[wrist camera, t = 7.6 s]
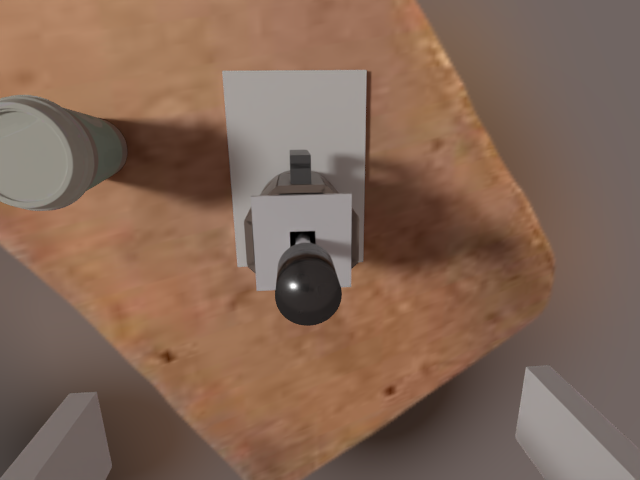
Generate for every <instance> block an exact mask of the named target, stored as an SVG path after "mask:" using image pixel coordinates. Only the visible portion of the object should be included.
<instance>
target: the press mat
mask: <svg viewBox="0 0 640 480" xmlns="http://www.w3.org/2000/svg"><path fill="white" fill-rule="evenodd" d="M222 73H223V86H224V98H225V111H226V124H227V137H228V150H229V163H230V176H231V188H232V201H233V214H234V227H235V240H236V253H237V266H238V267H246V266H248V265H247V259H246V245H245V231H244V220H245V218H246V216H247V214H248V212H249V210H250V208H251V196H255V195H260V194H261V192H262V190H263V189H264V187H265V186H266V185H267V183H268V182H269V181H270V180H271V179H273V178H274V177H275V176H277V175H279V174H281V173H283V172H285V171H289V170H290V150H308V152H309V153H310V154H311V171H313V172H316V173H318V174H320V175H322V176H323V177H325V178H326V179H327V180H328V181H329V182H330V183H331V184H332V185H333V187H334V188H335V189H336V190H337V191H338V192H339V193H351V194H352V208H353V210H354V211H355V212H356V213H357V215H358V216H359V261H358V262H363V252H364V193H365V134H366V75H367V70H284V71H222Z"/></svg>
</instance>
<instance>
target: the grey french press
mask: <svg viewBox="0 0 640 480" xmlns="http://www.w3.org/2000/svg"><path fill="white" fill-rule="evenodd" d="M244 231H245V245H246V259H247V265H248V267H249V268H250V269H251V270H252V271H253V272H254V273H256V286H257V291H264V290H276V279H277V268H278V263H279V260H280V258H281V256H282V254H283V253H284V252H285V251H286V250H287V249H289V248H290V247H292V246H294V245H295V232H297V231H309V236H310V242H311V243H313V244H316V245H319V246H321V247H322V248H324V249H325V250H326V251H327V252H328V253H329V255H330V256H331V258H332V261H333V264H334V267H335V270H336V273H337V277H338V280H339V283H340V286H341V287H351V269H352V268H353V267H354V266H355V265H356V264H357V263H358V261H359V216H358V215H357V213H356V212H355V211H354V210H353V208H352V194H351V193H339V192H338V191H337V190H336V189H335V188H334V187H333V185H332V184H331V183H330V182H329V181H328V180H327V179H326V178H325V177H323V176H322V175H320V174H318V173H316V172H313V171H311V154H310V153H309V152H308V150H290V170H289V171H285V172H283V173H281V174H279V175H277V176H275V177H274V178H273V179H271V180H270V181H269V182H268V183H267V185H266V186H265V187H264V189H263V190H262V192H261V194H260V195H255V196H251V208H250V210H249V212H248V214H247V216H246V218H245V220H244Z"/></svg>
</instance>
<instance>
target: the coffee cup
mask: <svg viewBox="0 0 640 480" xmlns="http://www.w3.org/2000/svg"><path fill="white" fill-rule="evenodd" d="M126 159H127V145H126V141H125V139H124V137H123V135H122V134H121V132H120V131H119V130H118V129H117V128H116V127H115V126H114V125H113V124H111V123H110V122H108V121H106V120H103V119H100V118H97V117H93V116H90V115H86V114H83V113H79V112H76V111H72V110H69V109H65V108H62V107H61V106H59V105H57V104H55V103H54V102H51V101H49V100H47V99H44V98H41V97H37V96H31V95H15V96H10V97H4V98H1V99H0V201H1V202H3V203H5V204H8V205H11V206H15V207H20V208H23V209H27V210H34V211H46V210H56V209H60V208H63V207H66V206H68V205H70V204H72V203H74V202H75V201H77V200H78V199H79V198H80V197H81V196H82V195H83V194H84V193H85V191H87V190H89V189H90V188H92V187H94V186H95V185H97V184H99V183H100V182H102V181H104V180H105V179H107V178H109V177H110V176H112V175H114V174H115V173H117V172H118V171H119V170H120V169H121V168H122V167H123V166H124V164H125V162H126Z"/></svg>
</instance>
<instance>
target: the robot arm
mask: <svg viewBox="0 0 640 480" xmlns="http://www.w3.org/2000/svg"><path fill="white" fill-rule="evenodd" d="M515 438H516V440H517V441H518V443H519V444H520V445H521V447H522V448H523V450H524V451H525V452H526V454H527V455H528V456H529V458H530V459H531V461H532V462H533V463H534V465H535V466H536V468H537V469H538V470H539V472H540V473H541V475H542V476H543V477H544V479H545V480H640V449H639V448H638V447H636V446H635V445H634V444H633V443H632V442H631V441H630V440H629V439H628V438H627V437H626V436H625V435H624V434H622V433H621V432H620V431H619V430H618V429H617V428H616V427H615V426H614V425H613V424H612V423H611V422H609V421H608V420H607V419H606V418H605V417H604V416H603V415H602V414H601V413H600V412H599V411H598V410H597V409H596V408H595V407H593V406H592V405H591V404H590V403H589V402H588V401H587V400H586V399H585V398H584V397H582V395H581V394H579V393H578V392H577V391H576V390H575V389H574V388H573V387H572V386H571V385H570V384H569V383H568V382H567V381H565V380H564V379H563V378H562V377H561V376H560V375H559V374H558V373H557V372H556V371H555V370H554V369H553V368H551V367H550V366H549V365H547V366H532V367H526V371H525V378H524V384H523V390H522V397H521V404H520V409H519V416H518V423H517V429H516V436H515ZM111 467H112V464H111V459H110V454H109V450H108V445H107V440H106V435H105V430H104V425H103V421H102V416H101V411H100V406H99V401H98V396H97V392H87V393H71V394H69V395H68V396H67V398H65V400H64V401H63V402H62V403H61V405H60V406H59V407H58V409H57V410H56V411H55V412H54V413H53V414H52V416H51V417H50V418H49V419H48V421H47V422H46V423H45V425H43V427H42V428H41V429H40V431H39V432H38V433H37V434H36V436H35V437H34V438H33V439H32V440H31V441H30V443H29V444H28V445H27V446H26V448H25V449H24V450H23V451H22V452H21V454H20V455H19V456H18V457H17V459H16V460H15V461H14V463H13V464H12V465H11V466H10V467H9V468H8V470H7V471H6V472H5V473H4V475H3V476H2V477H1V478H0V480H105V479H106V477H107V475H108V473H109V471H110V469H111Z"/></svg>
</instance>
